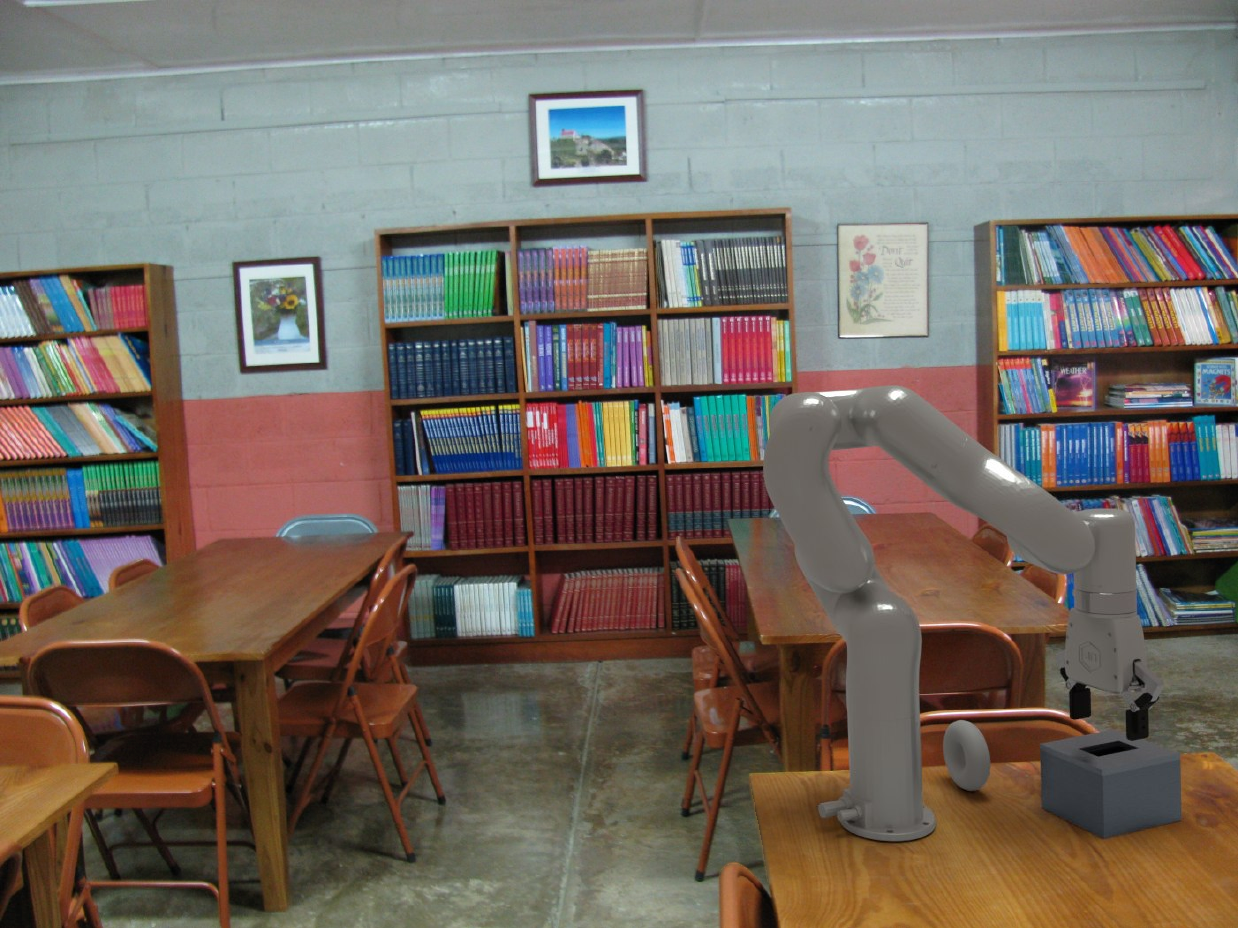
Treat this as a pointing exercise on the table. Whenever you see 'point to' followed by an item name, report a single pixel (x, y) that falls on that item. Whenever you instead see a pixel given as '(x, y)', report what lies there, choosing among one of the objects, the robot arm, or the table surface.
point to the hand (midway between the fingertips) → (1108, 728)
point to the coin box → (1110, 783)
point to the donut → (966, 755)
